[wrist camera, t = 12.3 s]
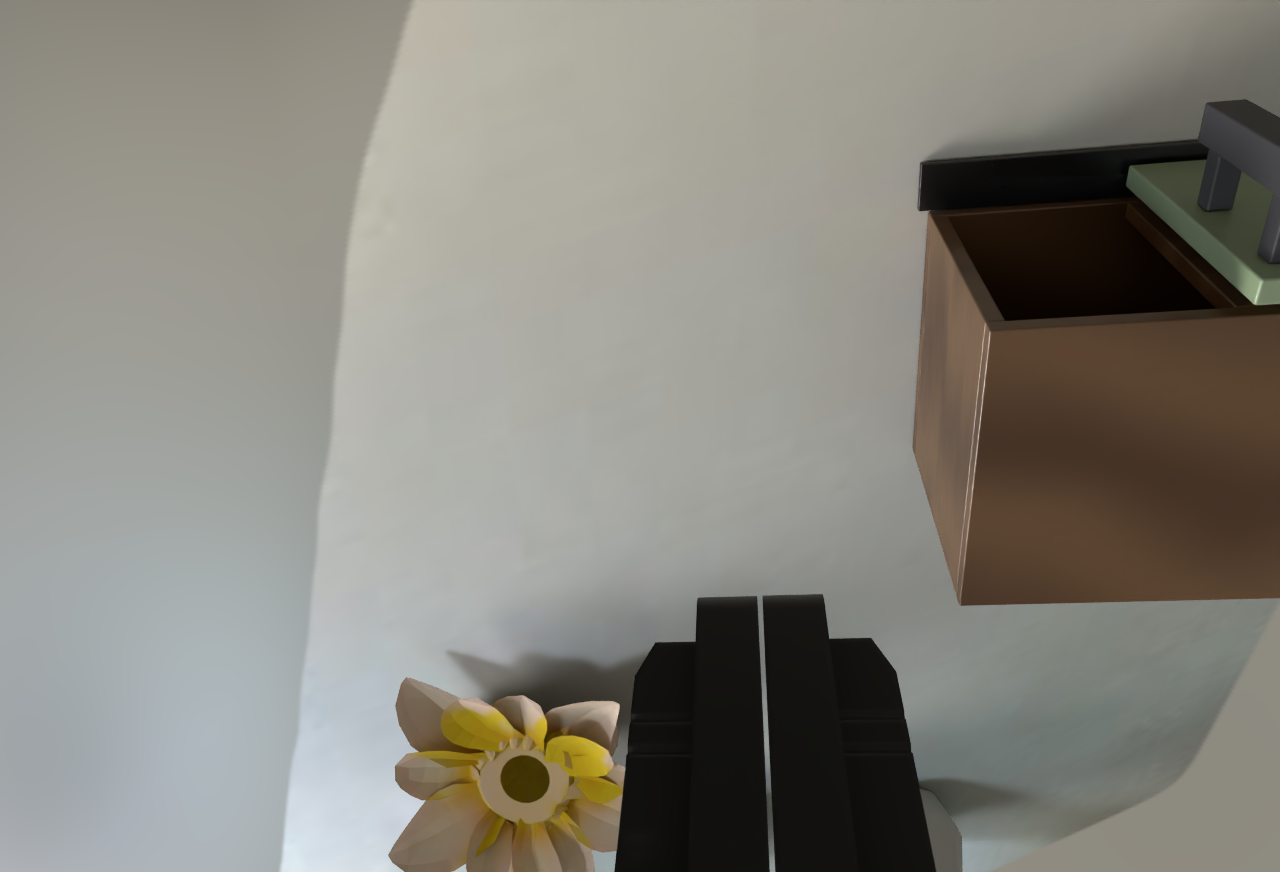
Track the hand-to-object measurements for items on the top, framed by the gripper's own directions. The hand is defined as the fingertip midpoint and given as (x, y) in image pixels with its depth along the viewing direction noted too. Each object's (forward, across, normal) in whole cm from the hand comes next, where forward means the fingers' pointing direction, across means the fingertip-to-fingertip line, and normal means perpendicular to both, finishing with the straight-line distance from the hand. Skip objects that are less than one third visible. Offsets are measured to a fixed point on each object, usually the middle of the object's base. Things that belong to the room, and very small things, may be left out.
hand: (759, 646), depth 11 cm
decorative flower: (+27, +13, +34) cm, 45 cm away
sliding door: (+26, -18, +2) cm, 32 cm away
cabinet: (+27, -14, +10) cm, 32 cm away
